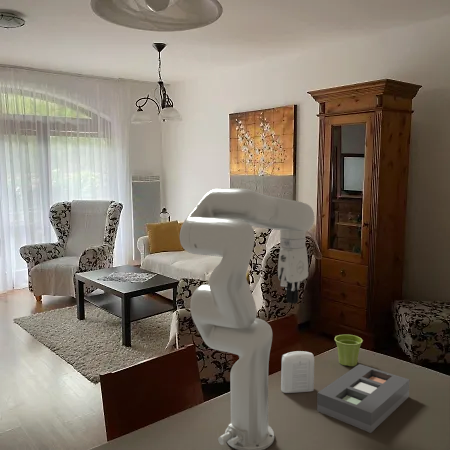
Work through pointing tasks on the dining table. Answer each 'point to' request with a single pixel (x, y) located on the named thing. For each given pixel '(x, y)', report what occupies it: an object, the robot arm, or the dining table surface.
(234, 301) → the robot arm
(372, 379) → the terracotta key
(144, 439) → the dining table surface
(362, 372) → the keypad
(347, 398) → the sage key
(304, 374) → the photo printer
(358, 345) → the plant pot
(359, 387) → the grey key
